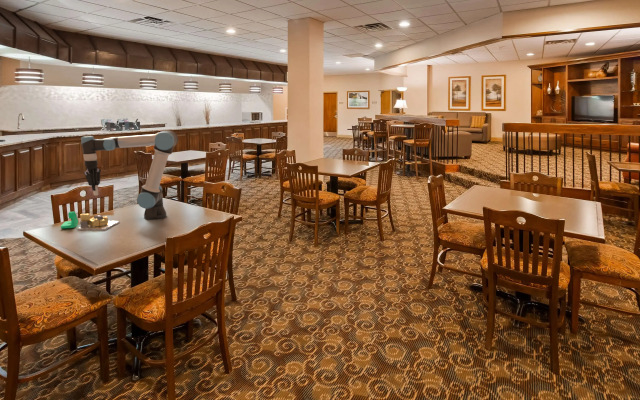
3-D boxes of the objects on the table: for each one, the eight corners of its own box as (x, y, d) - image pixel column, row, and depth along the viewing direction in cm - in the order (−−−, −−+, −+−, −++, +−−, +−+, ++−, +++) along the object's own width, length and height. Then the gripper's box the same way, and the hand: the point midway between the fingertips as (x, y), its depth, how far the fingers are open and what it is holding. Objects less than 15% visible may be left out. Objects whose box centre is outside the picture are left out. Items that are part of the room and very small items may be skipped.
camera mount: (65, 225, 270) (63, 210, 267) (78, 224, 272) (76, 209, 270) (60, 230, 259) (58, 214, 256) (74, 229, 261) (72, 213, 259)
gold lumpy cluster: (110, 221, 273) (109, 211, 271) (105, 225, 263) (103, 215, 261) (84, 222, 270) (83, 212, 268) (78, 226, 260) (77, 216, 258)
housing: (119, 222, 276) (118, 212, 274) (105, 230, 258) (103, 219, 257) (92, 222, 276) (91, 212, 275) (76, 229, 259) (74, 219, 257)
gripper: (93, 158, 271) (98, 192, 276) (78, 161, 258) (83, 197, 264) (102, 158, 269) (107, 193, 275) (88, 161, 257) (93, 197, 262)
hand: (96, 195), depth 269 cm, fingers closed
